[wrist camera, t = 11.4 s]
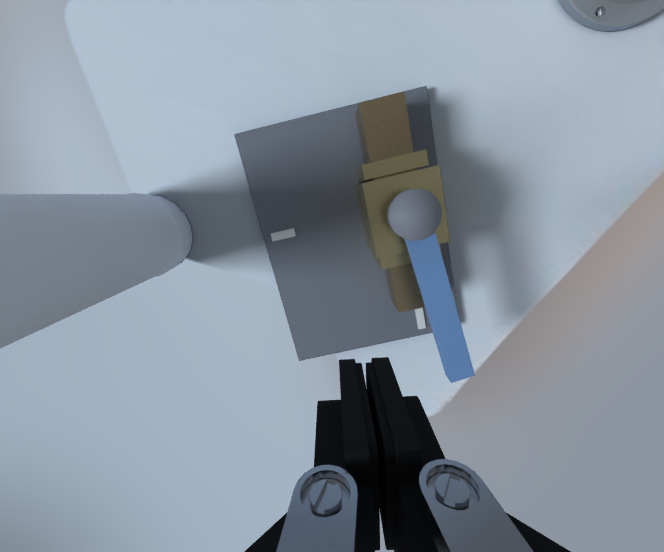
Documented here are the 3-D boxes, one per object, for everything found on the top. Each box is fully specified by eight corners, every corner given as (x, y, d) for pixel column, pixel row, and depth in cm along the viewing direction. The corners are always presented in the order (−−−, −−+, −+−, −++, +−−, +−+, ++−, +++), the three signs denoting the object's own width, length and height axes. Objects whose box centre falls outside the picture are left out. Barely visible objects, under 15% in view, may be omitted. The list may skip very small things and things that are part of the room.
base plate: (423, 89, 29) (427, 85, 28) (455, 323, 35) (460, 327, 34) (237, 136, 30) (233, 133, 29) (299, 356, 36) (298, 361, 35)
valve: (403, 106, 29) (432, 72, 21) (431, 285, 34) (464, 314, 26) (341, 121, 30) (345, 94, 21) (377, 297, 34) (392, 329, 26)
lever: (381, 199, 23) (384, 199, 22) (428, 181, 23) (434, 181, 21) (436, 377, 27) (442, 387, 25) (477, 364, 26) (485, 373, 25)
